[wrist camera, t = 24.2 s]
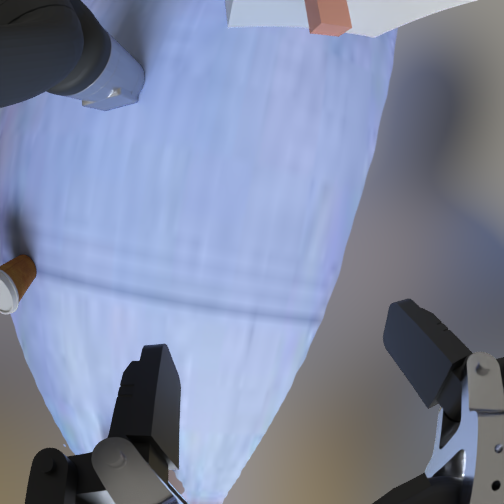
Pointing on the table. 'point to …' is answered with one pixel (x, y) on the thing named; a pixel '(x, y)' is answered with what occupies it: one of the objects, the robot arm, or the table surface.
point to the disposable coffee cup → (15, 282)
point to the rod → (328, 17)
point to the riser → (360, 9)
